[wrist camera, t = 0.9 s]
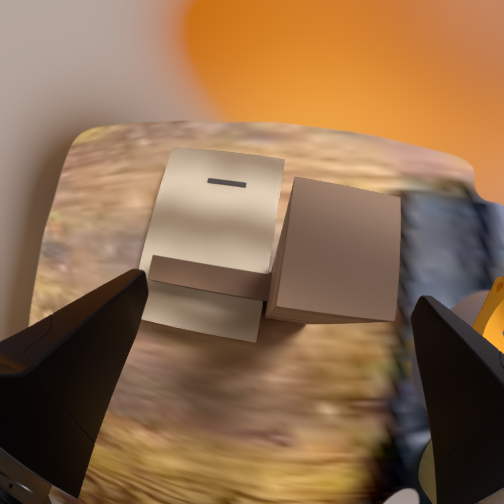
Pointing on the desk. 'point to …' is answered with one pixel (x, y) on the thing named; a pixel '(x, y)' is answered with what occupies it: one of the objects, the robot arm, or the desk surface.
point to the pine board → (212, 235)
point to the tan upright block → (315, 260)
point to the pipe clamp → (492, 316)
